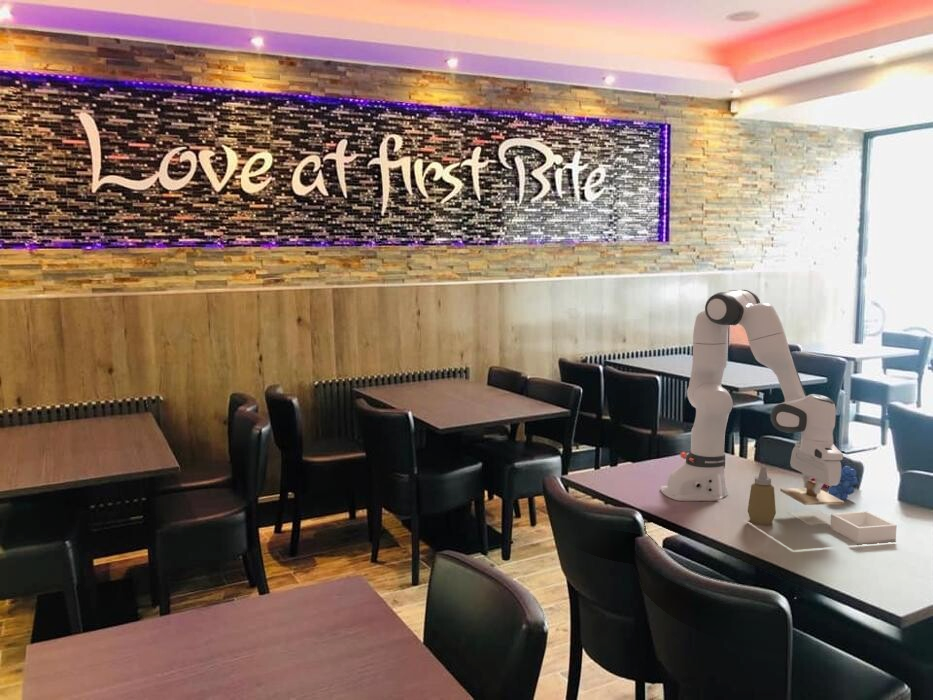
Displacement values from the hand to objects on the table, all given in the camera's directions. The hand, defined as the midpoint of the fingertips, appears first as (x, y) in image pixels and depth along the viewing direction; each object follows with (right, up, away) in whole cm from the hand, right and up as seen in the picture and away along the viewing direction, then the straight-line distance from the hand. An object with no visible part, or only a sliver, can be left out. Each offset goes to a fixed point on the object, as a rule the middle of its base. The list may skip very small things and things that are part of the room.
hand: (811, 490), depth 225 cm
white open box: (+9, -11, -13) cm, 19 cm away
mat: (+1, -9, +1) cm, 9 cm away
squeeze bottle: (-16, -10, -2) cm, 19 cm away
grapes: (+19, -7, +19) cm, 27 cm away
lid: (0, -2, 0) cm, 2 cm away
